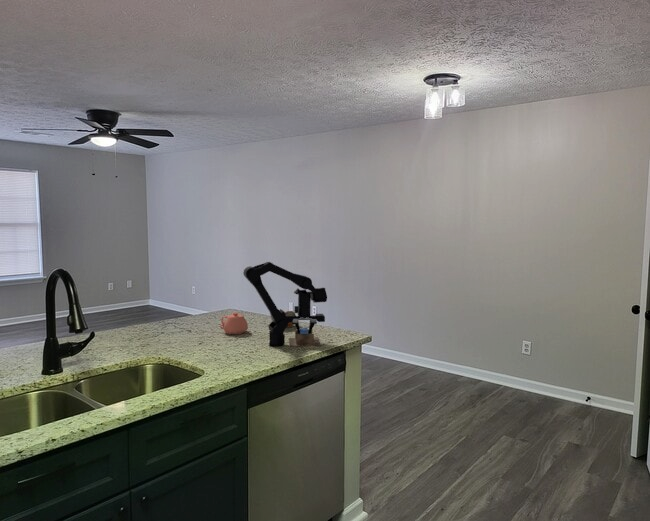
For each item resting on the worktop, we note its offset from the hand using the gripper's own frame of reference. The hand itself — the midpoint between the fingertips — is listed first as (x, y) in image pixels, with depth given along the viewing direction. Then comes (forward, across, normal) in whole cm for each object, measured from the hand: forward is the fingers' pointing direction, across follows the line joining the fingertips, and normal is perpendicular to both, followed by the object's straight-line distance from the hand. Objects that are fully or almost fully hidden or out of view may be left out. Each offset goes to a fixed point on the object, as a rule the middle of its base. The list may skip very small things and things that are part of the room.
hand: (304, 336), depth 215 cm
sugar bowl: (+3, +34, -22) cm, 41 cm away
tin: (+3, +8, -31) cm, 32 cm away
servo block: (+2, 0, 0) cm, 2 cm away
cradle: (+3, 0, 0) cm, 3 cm away
